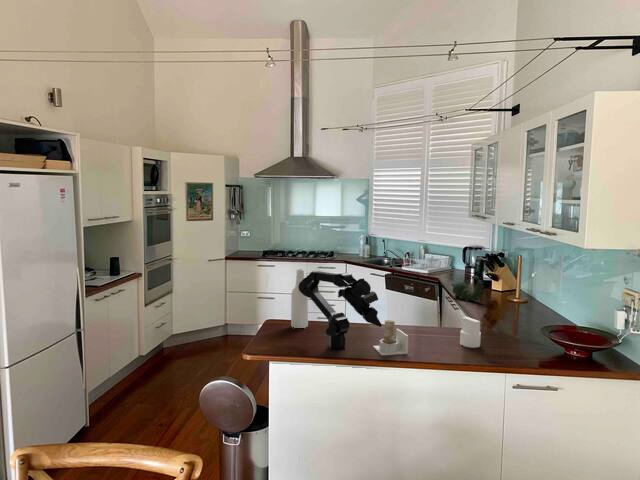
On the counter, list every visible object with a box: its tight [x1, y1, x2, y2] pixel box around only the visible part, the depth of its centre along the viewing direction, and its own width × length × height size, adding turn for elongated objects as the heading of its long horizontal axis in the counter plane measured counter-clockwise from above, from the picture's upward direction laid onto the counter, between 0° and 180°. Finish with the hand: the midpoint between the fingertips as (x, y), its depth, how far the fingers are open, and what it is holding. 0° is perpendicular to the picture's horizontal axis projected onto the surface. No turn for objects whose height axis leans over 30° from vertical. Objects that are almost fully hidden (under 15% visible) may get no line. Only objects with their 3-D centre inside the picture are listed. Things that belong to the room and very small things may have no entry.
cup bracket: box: [372, 328, 409, 356], centre depth 200 cm, size 12×11×8 cm
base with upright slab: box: [459, 316, 482, 349], centre depth 210 cm, size 9×9×12 cm
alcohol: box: [290, 268, 309, 329], centre depth 233 cm, size 9×9×30 cm
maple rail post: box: [383, 319, 396, 344], centre depth 200 cm, size 4×4×12 cm
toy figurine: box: [450, 275, 485, 302], centre depth 304 cm, size 9×19×25 cm
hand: (377, 323), depth 198 cm, fingers open, 9 cm apart
